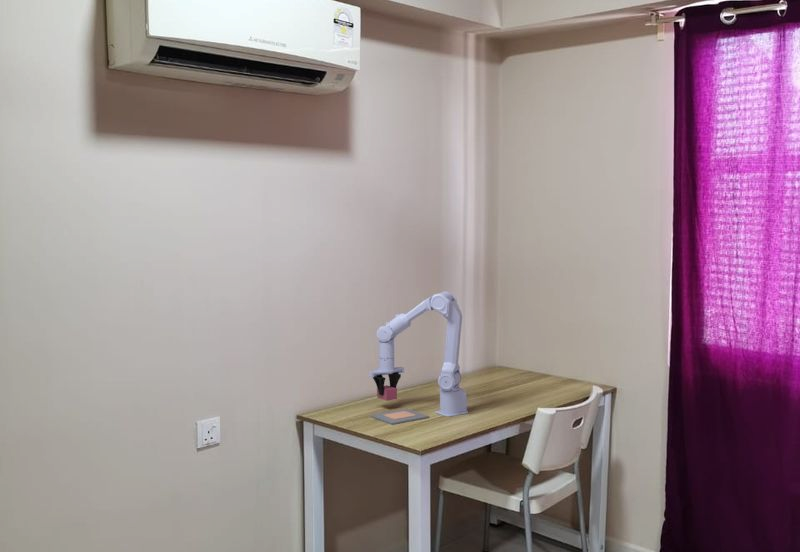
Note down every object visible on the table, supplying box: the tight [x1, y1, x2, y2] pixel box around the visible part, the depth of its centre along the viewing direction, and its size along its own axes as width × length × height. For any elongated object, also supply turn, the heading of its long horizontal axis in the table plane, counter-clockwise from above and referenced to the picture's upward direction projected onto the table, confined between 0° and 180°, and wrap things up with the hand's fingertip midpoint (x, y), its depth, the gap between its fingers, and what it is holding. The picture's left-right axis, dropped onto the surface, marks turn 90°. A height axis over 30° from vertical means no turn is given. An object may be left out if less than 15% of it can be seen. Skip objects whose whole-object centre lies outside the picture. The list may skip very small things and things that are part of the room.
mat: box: [369, 408, 430, 426], centre depth 285 cm, size 16×14×1 cm
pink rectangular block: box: [376, 385, 398, 401], centre depth 298 cm, size 4×6×4 cm
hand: (386, 393), depth 298 cm, fingers closed on pink rectangular block, 4 cm apart
